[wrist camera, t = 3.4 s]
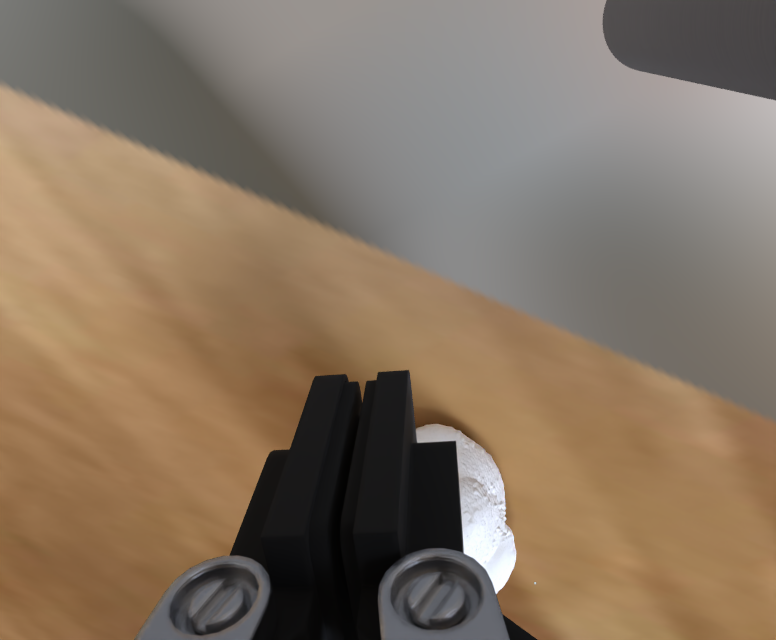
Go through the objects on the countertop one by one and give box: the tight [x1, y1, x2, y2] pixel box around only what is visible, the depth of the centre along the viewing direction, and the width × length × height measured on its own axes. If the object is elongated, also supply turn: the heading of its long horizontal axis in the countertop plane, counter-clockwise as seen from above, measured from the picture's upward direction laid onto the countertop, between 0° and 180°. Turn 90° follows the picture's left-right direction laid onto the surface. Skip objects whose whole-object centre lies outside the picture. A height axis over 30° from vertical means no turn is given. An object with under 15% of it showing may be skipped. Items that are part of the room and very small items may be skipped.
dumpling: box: [416, 424, 536, 594], centre depth 20 cm, size 7×5×4 cm
